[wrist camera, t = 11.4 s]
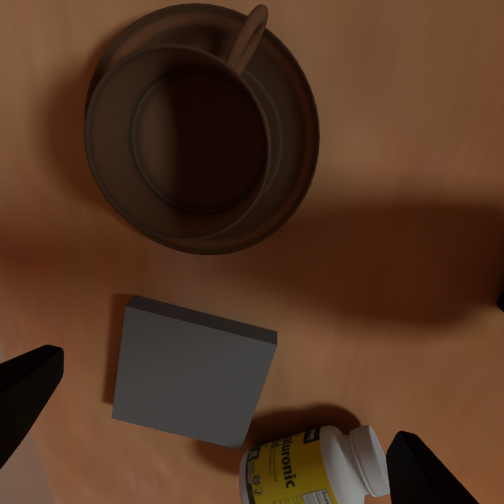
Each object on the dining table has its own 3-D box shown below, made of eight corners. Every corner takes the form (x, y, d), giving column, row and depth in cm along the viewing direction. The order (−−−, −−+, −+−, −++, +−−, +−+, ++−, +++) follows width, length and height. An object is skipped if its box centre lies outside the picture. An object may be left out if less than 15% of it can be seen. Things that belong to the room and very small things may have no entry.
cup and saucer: (109, -11, 16) (16, -84, 10) (345, 48, 16) (381, 7, 11) (98, 218, 21) (28, 255, 15) (284, 263, 21) (286, 315, 15)
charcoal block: (277, 327, 23) (277, 345, 21) (243, 427, 27) (241, 450, 25) (137, 291, 23) (125, 306, 21) (123, 397, 26) (111, 418, 25)
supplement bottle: (243, 433, 27) (359, 397, 24) (272, 484, 28) (387, 454, 25) (229, 497, 22) (375, 459, 19) (265, 557, 22) (409, 528, 20)
